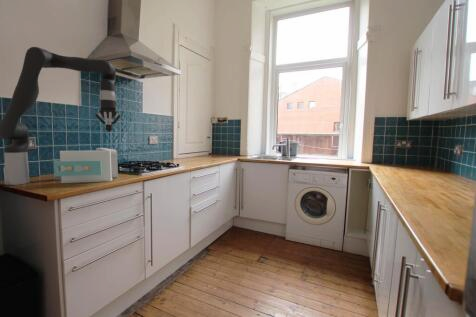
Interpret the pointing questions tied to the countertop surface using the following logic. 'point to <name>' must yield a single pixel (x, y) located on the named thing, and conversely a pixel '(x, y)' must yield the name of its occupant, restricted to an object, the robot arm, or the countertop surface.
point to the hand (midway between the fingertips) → (109, 131)
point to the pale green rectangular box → (87, 156)
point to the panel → (93, 169)
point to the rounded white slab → (112, 161)
